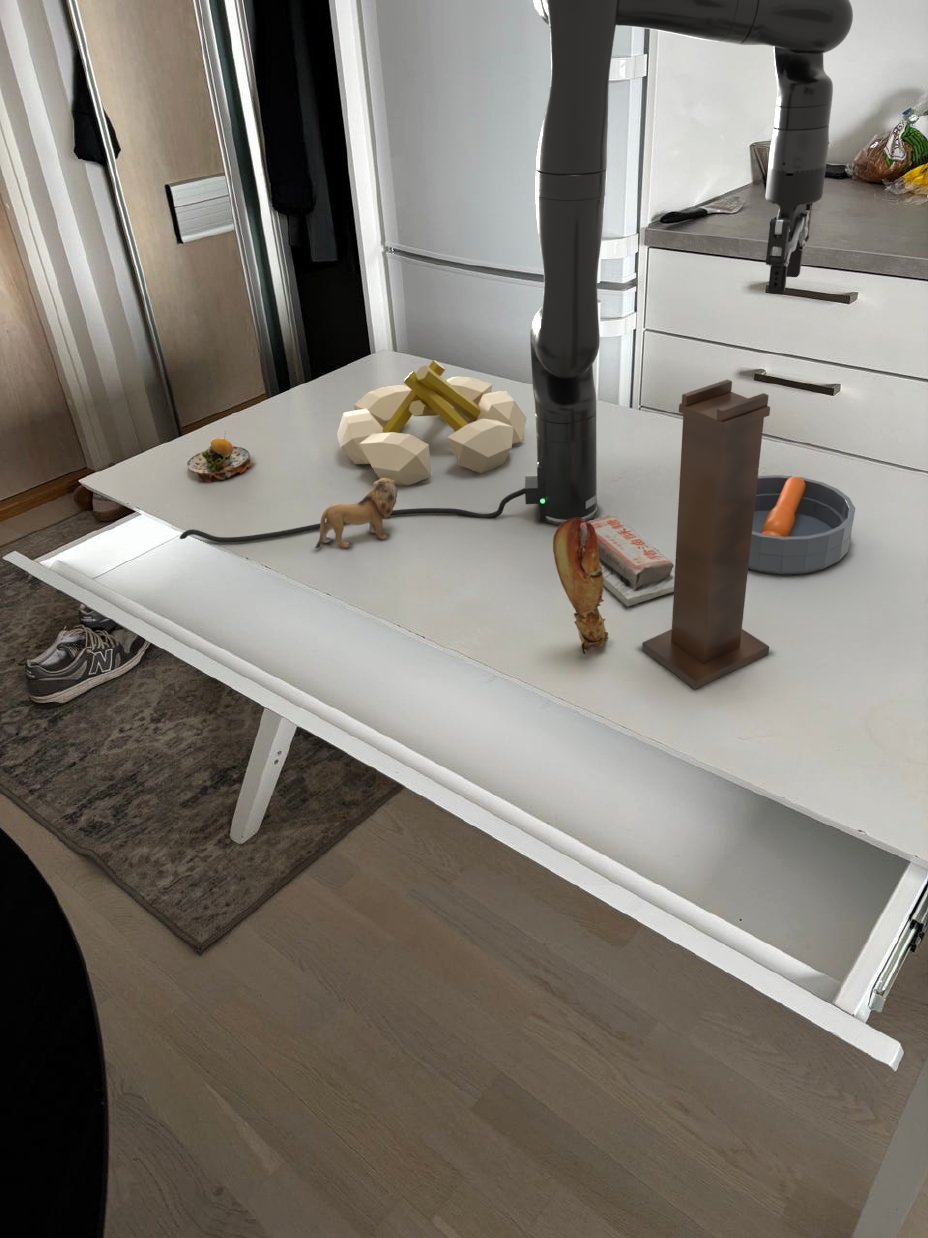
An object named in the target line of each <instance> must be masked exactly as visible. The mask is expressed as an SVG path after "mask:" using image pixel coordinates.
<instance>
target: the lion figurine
mask: <svg viewBox="0 0 928 1238" xmlns="http://www.w3.org/2000/svg"><path fill="white" fill-rule="evenodd" d="M397 498H398V489H397V487H396V484H395V481H394V480H391V479H387V478H381V479H379V478H378V480H375V481H374V482H373V483H372V488H371V489H370V490H369V491H368V492H367V494H366V495H365V496H364V497H363V498H362V500H360V501H358V502H353V503H334V504H331V505H329V506H328V507H327V508H325V510H324V511H323V512H322V515H321V517H320V522H319V523H320V529H319V539H318V541H317V543H316V545H315V547H314V549H319V548H321V546H322V543H326V544H327V543H330V542H331V540H332V539H331V537H328V536H327V535H328V534H329V532H330V531H331V530H332V529H333V531H334V533H335V538H334V539H335V542H337V543H338V544H339V545H340V546H341V547H342V548H343V549H348V548H350V546H351V545H350V543H349V542H348V541H344V540H343V531H344V528H345V526H344V522H345V524H348V525H351V526H362V525H365V524H369V530H370V532H371V533H372V534H376V536H377V537H378V539H379V540H386V539H387V534H386V533H383V527H384V526H383V525H384V524H383V523H384V522H383V520H384V519H386V518H388V517H391V516H390V514H391V513H392V510H394V508H395V506H396V504H397ZM325 522H326V524H325ZM324 524H325V526H324Z"/></svg>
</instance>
